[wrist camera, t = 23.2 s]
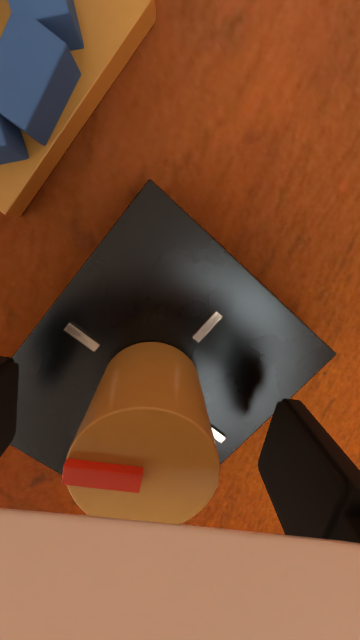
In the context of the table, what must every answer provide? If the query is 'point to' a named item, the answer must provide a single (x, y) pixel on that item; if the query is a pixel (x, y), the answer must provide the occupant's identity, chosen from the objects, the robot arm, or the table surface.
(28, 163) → the wooden peg stand
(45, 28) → the segmented ring
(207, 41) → the table surface
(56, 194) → the table surface
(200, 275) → the black dial base plate
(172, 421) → the rotary dial knob
